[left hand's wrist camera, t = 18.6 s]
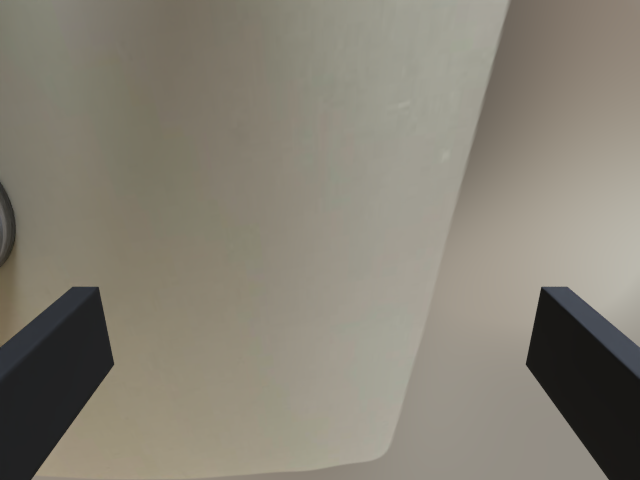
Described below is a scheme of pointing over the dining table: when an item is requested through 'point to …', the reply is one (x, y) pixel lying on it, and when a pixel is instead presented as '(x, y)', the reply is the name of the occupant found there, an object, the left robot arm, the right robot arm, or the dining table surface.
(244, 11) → the dining table surface
